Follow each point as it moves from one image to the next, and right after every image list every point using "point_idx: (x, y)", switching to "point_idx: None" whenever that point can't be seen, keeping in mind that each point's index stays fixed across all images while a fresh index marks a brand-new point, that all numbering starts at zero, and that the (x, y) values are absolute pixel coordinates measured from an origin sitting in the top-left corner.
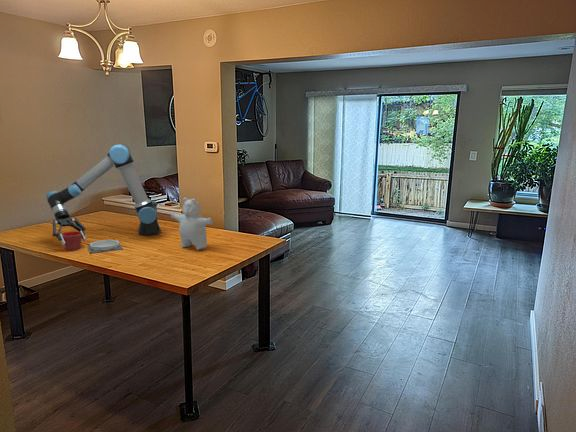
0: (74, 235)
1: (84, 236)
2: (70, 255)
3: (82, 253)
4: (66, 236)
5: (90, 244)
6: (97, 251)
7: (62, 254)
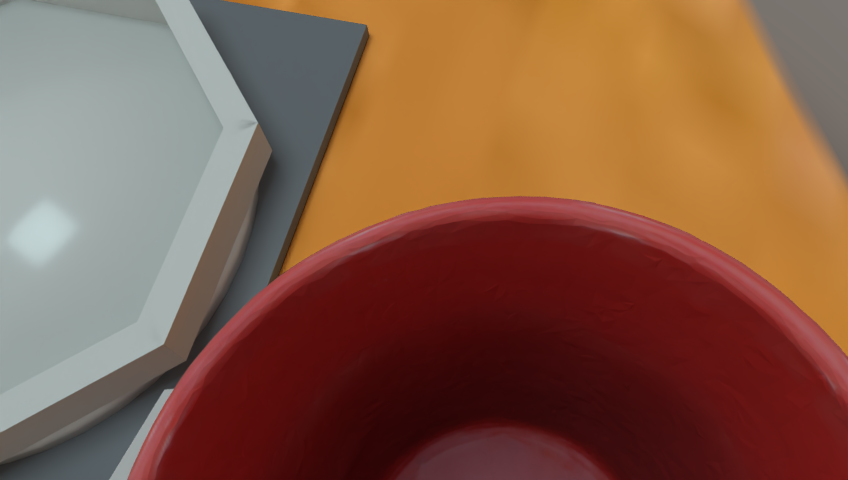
0: (506, 200)
1: (130, 449)
2: (669, 127)
3: (463, 117)
4: (776, 298)
5: (190, 265)
6: (249, 24)
7: (790, 280)
